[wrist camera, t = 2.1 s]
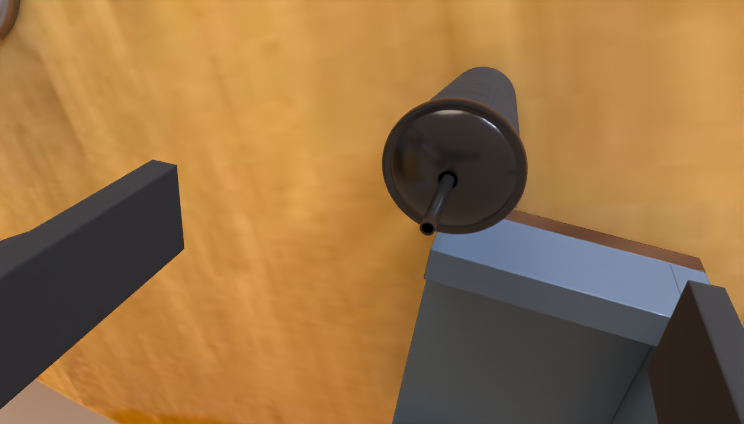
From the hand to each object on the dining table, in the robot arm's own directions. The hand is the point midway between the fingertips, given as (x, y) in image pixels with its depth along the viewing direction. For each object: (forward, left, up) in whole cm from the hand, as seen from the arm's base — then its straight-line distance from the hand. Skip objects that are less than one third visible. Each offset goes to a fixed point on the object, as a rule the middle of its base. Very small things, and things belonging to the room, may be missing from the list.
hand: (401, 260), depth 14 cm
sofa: (+9, -24, -28) cm, 38 cm away
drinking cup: (0, -4, -29) cm, 29 cm away
